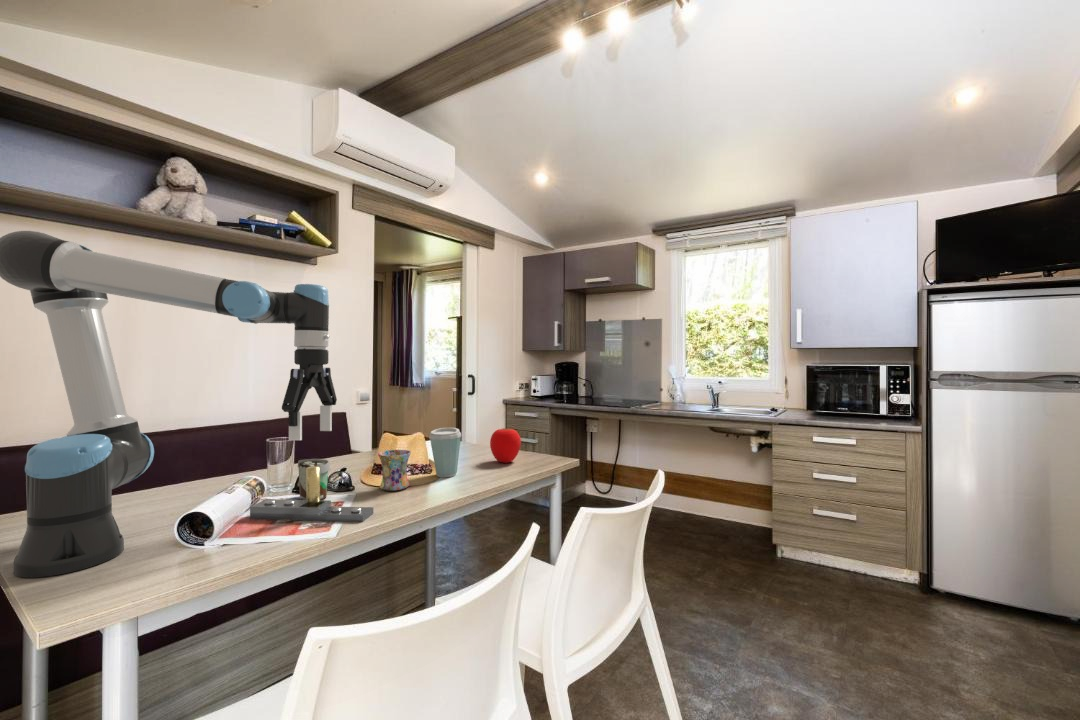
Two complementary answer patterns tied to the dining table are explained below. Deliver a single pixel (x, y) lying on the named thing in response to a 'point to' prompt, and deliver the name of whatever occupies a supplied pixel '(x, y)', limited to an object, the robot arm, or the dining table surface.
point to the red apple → (505, 444)
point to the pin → (313, 486)
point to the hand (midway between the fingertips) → (311, 435)
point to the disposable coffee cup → (445, 450)
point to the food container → (324, 470)
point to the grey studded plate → (307, 511)
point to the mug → (394, 469)
